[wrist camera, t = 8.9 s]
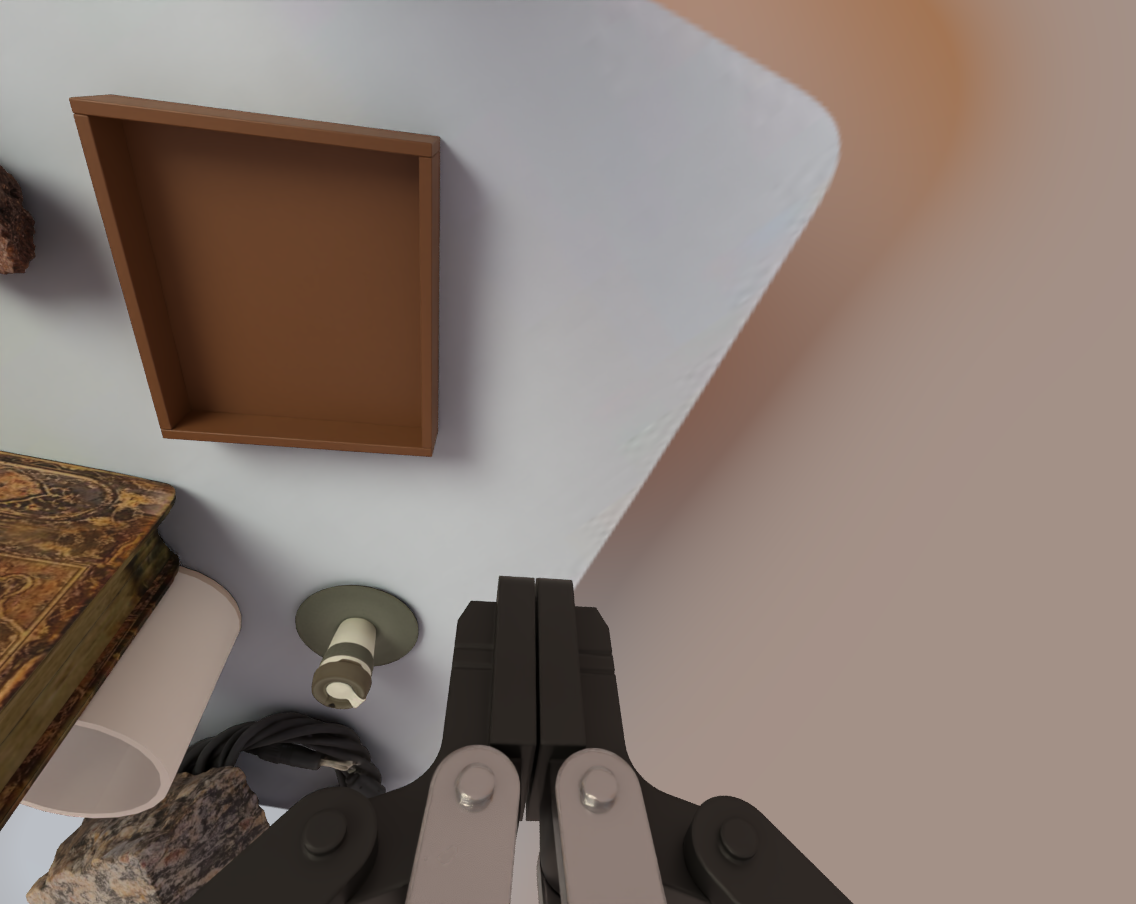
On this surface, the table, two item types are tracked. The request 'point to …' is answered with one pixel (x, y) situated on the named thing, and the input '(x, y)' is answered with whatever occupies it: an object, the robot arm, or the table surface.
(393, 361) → the tray
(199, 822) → the stone block
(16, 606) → the book
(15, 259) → the stone
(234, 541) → the table surface
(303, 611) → the olive disc with post
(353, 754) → the cable
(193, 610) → the mug
